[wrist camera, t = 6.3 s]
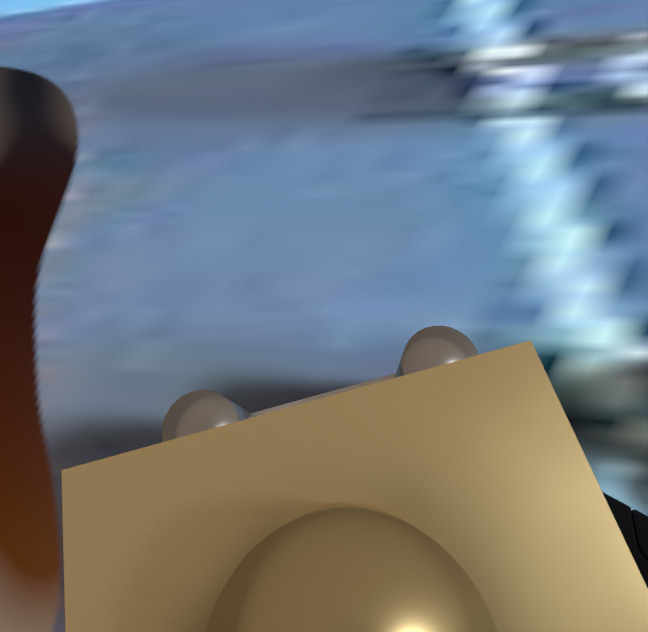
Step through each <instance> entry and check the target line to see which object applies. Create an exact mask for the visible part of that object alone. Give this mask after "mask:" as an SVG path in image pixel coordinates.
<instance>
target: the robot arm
mask: <svg viewBox="0 0 648 632" xmlns="http://www.w3.org/2000/svg"><path fill="white" fill-rule="evenodd" d="M602 493H603V492H602ZM603 495H604V497H605V499H606V501H607V503H608V505H609V508H610V510H611V512H612V514H613V516H614V518H615V520H616V522H617V525H618V527H619V529H620V531H621V533H622V535H623V537H624V539H625V542H626V544H627V546H628V548H629V550H630V552H631V554H632V556H633V559H634V561H635V563H636V565H637V567H638V569H639V571H640V573H641V575H642V578H643V580H644V582H645V584H646V586H647V588H648V516H646V515H644V514H642V513H641V512H639V511H637V510H632V511H631V508H630V507H629V506H627V505H625V504H624V503H622V502H620V501H618V500H616V499H614V498H612V497H611V496H609V495H607V494H605V493H603Z"/></svg>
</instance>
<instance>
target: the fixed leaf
mask: <svg viewBox="0 0 648 632" xmlns="http://www.w3.org/2000/svg"><path fill="white" fill-rule="evenodd" d="M476 355H478V353H477V350H476V348H475V346H474V345H473V343H472V342H471V341H470V340H469V339H468V338H467V337H466V336H465V335H464V334H463V333H461V332H459V331H458V330H455V329H453V328H450V327H446V326H432V327H427V328H424V329H422V330H420V331H419V332H417V333H416V334H415V335H413V336H412V337H411V339H410V340H409V341H408V343H407V345H406V347H405V349H404V352H403V355H402V358H401V360H400V363H399V366H398V369H397V371H396V373H395V374H392V375H388V376H385V377H381V378H377V379H374V380H370V381H366V382H363V383H359V384H356V385H352V386H348V387H345V388H341V389H337V390H334V391H330V392H327V393H323V394H319V395H316V396H312V397H308V398H305V399H301V400H298V401H294V402H290V403H287V404H283V405H279V406H276V407H272V408H269V409H265V410H261V411H258V412H254V413H250V412H248V411H247V410H245V409H243V408H242V407H240V406H238V405H237V404H235V403H233V402H232V401H230V400H228V399H227V398H225V397H224V396H222V395H220V394H218V393H216V392H213V391H209V390H198V391H193V392H190V393H188V394H186V395H184V396H182V397H181V398H179V399H178V400H177V401H176V402H175V403H174V404H173V405H172V406H171V408H170V409H169V411H168V412H167V414H166V416H165V419H164V422H163V426H162V441H163V442H165V441H169V440H172V439H176V438H180V437H183V436H187V435H190V434H194V433H198V432H201V431H205V430H209V429H212V428H216V427H219V426H223V425H227V424H230V423H234V422H237V421H241V420H245V419H248V418H252V417H256V416H259V415H263V414H266V413H270V412H274V411H277V410H281V409H284V408H288V407H292V406H295V405H299V404H303V403H306V402H310V401H313V400H317V399H321V398H324V397H328V396H331V395H335V394H339V393H342V392H346V391H350V390H353V389H357V388H360V387H364V386H368V385H371V384H375V383H378V382H382V381H386V380H389V379H393V378H397V377H400V376H404V375H407V374H411V373H415V372H418V371H422V370H425V369H429V368H433V367H436V366H440V365H444V364H447V363H451V362H454V361H458V360H462V359H465V358H469V357H472V356H476Z"/></svg>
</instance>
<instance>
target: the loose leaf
mask: <svg viewBox="0 0 648 632" xmlns="http://www.w3.org/2000/svg"><path fill="white" fill-rule="evenodd" d="M61 471H62V513H63V554H64V596H65V632H648V588H647V586H646V584H645V582H644V580H643V578H642V575H641V573H640V571H639V569H638V567H637V565H636V563H635V561H634V559H633V556H632V554H631V552H630V550H629V548H628V546H627V544H626V542H625V539H624V537H623V535H622V533H621V531H620V529H619V527H618V525H617V522H616V520H615V518H614V516H613V514H612V512H611V510H610V508H609V505H608V503H607V501H606V499H605V497H604V495H603V493H602V491H601V488H600V486H599V484H598V482H597V480H596V478H595V476H594V474H593V472H592V469H591V467H590V465H589V463H588V461H587V459H586V457H585V455H584V452H583V450H582V448H581V446H580V444H579V442H578V440H577V438H576V435H575V433H574V431H573V429H572V427H571V425H570V423H569V421H568V418H567V416H566V414H565V412H564V410H563V408H562V406H561V404H560V401H559V399H558V397H557V395H556V393H555V391H554V389H553V387H552V385H551V382H550V380H549V378H548V376H547V374H546V372H545V370H544V368H543V365H542V363H541V361H540V359H539V357H538V355H537V353H536V351H535V348H534V346H533V344H532V342H531V340H530V341H527V342H523V343H519V344H516V345H512V346H509V347H505V348H501V349H498V350H494V351H491V352H487V353H483V354H480V355H476V356H472V357H469V358H465V359H462V360H458V361H454V362H451V363H447V364H444V365H440V366H436V367H433V368H429V369H425V370H422V371H418V372H415V373H411V374H407V375H404V376H400V377H397V378H393V379H389V380H386V381H382V382H378V383H375V384H371V385H368V386H364V387H360V388H357V389H353V390H350V391H346V392H342V393H339V394H335V395H331V396H328V397H324V398H321V399H317V400H313V401H310V402H306V403H303V404H299V405H295V406H292V407H288V408H284V409H281V410H277V411H274V412H270V413H266V414H263V415H259V416H256V417H252V418H248V419H245V420H241V421H237V422H234V423H230V424H227V425H223V426H219V427H216V428H212V429H209V430H205V431H201V432H198V433H194V434H190V435H187V436H183V437H180V438H176V439H172V440H169V441H165V442H162V443H158V444H154V445H151V446H147V447H143V448H140V449H136V450H133V451H129V452H125V453H122V454H118V455H115V456H111V457H107V458H104V459H100V460H96V461H93V462H89V463H86V464H82V465H78V466H75V467H71V468H68V469H64V470H61Z"/></svg>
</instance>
